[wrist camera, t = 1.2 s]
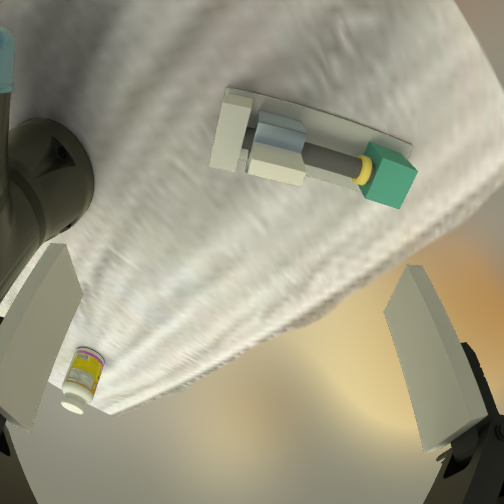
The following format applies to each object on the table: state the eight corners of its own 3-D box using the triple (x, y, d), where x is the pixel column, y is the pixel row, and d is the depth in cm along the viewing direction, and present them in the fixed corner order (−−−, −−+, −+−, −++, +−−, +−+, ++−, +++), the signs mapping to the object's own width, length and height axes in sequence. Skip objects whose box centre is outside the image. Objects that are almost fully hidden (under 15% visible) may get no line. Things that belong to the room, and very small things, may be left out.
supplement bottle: (96, 367, 61) (79, 417, 51) (71, 351, 58) (51, 401, 47) (110, 360, 58) (93, 414, 48) (84, 342, 55) (63, 397, 45)
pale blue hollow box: (247, 153, 30) (242, 194, 24) (259, 109, 28) (257, 136, 21) (287, 163, 31) (294, 206, 24) (301, 120, 28) (314, 151, 21)
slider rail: (212, 151, 32) (204, 171, 28) (226, 86, 28) (219, 96, 23) (386, 197, 34) (402, 223, 30) (410, 144, 30) (432, 164, 26)
